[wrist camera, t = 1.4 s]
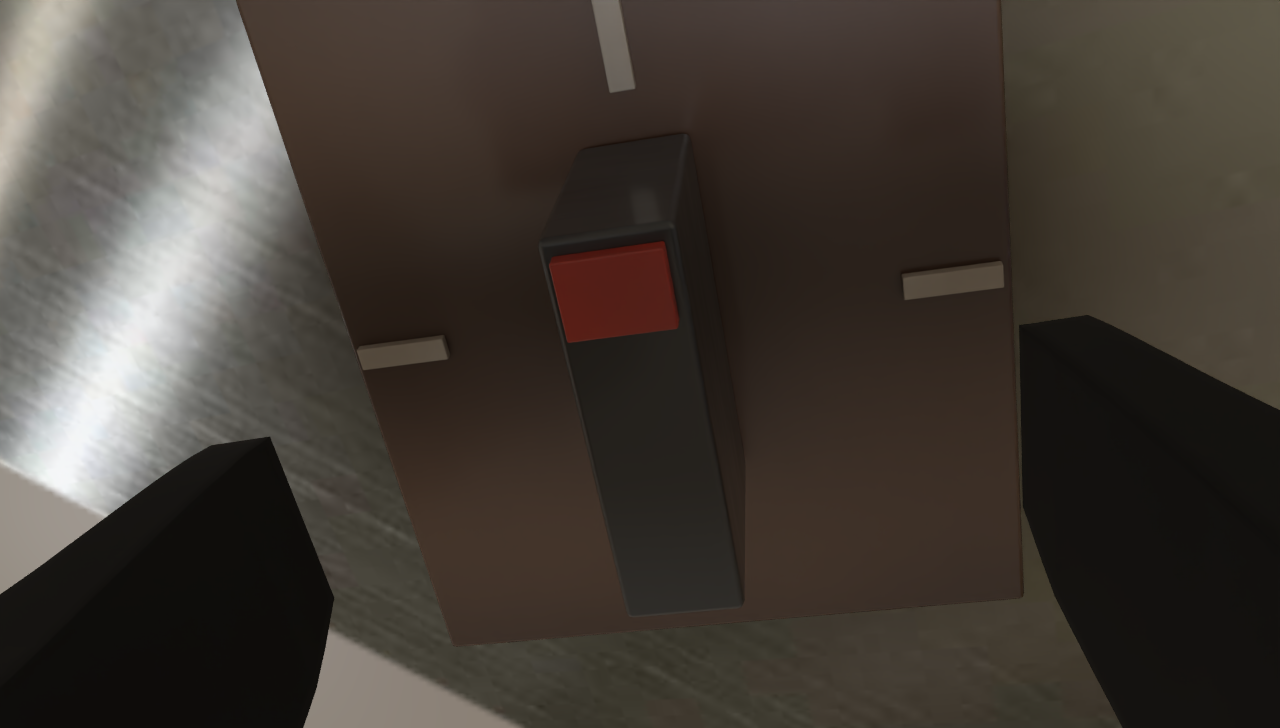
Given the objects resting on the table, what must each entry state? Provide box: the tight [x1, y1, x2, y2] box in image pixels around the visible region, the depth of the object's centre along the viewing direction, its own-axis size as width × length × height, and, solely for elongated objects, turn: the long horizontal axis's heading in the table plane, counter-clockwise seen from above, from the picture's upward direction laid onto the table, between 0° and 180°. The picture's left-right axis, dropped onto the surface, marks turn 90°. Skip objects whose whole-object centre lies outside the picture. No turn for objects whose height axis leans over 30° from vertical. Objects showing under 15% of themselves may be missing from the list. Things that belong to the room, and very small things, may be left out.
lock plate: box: [236, 0, 1024, 647], centre depth 18 cm, size 12×10×3 cm
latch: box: [538, 133, 746, 617], centre depth 15 cm, size 6×2×4 cm, turn 11°
